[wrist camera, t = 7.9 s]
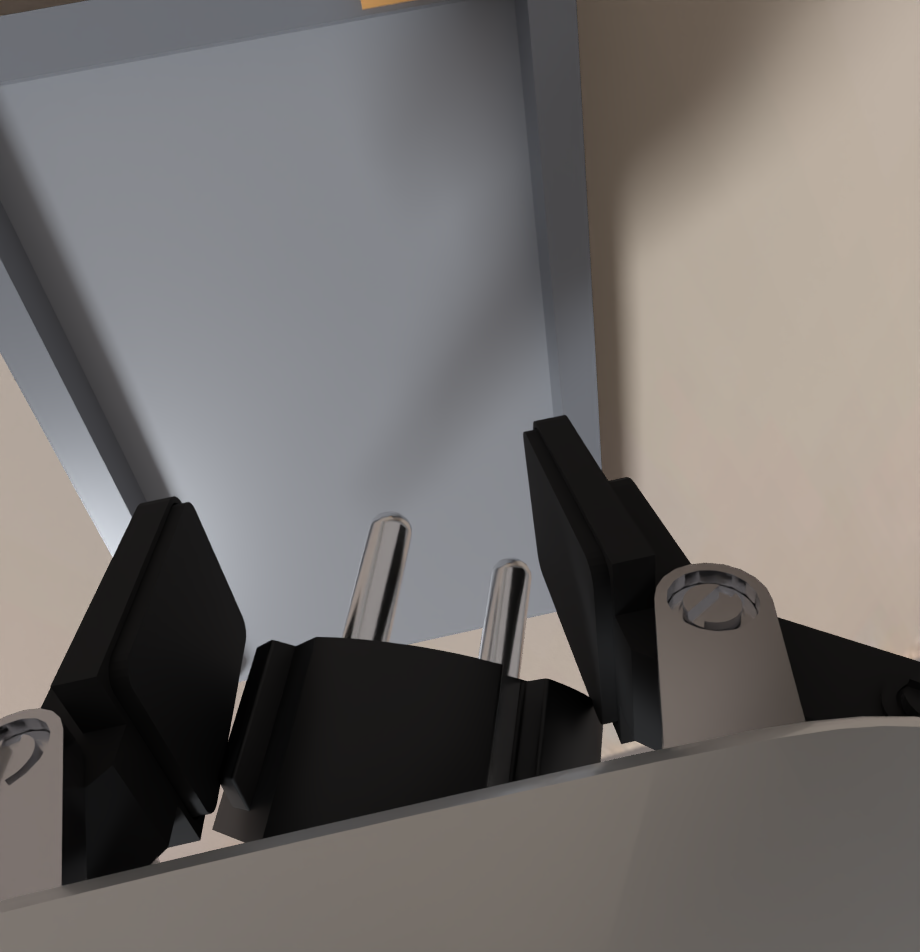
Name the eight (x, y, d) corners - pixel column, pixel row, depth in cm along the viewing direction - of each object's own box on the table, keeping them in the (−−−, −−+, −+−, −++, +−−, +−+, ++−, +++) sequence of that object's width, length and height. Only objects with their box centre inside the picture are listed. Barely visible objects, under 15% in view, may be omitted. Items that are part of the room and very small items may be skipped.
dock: (-107, 48, 14) (-179, 45, 12) (545, -69, 15) (575, -89, 13) (210, 671, 24) (198, 724, 22) (591, 587, 25) (613, 632, 23)
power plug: (91, 913, 15) (180, 1172, 6) (205, 592, 19) (379, 414, 9) (325, 939, 17) (679, 1160, 8) (388, 646, 21) (685, 549, 11)
